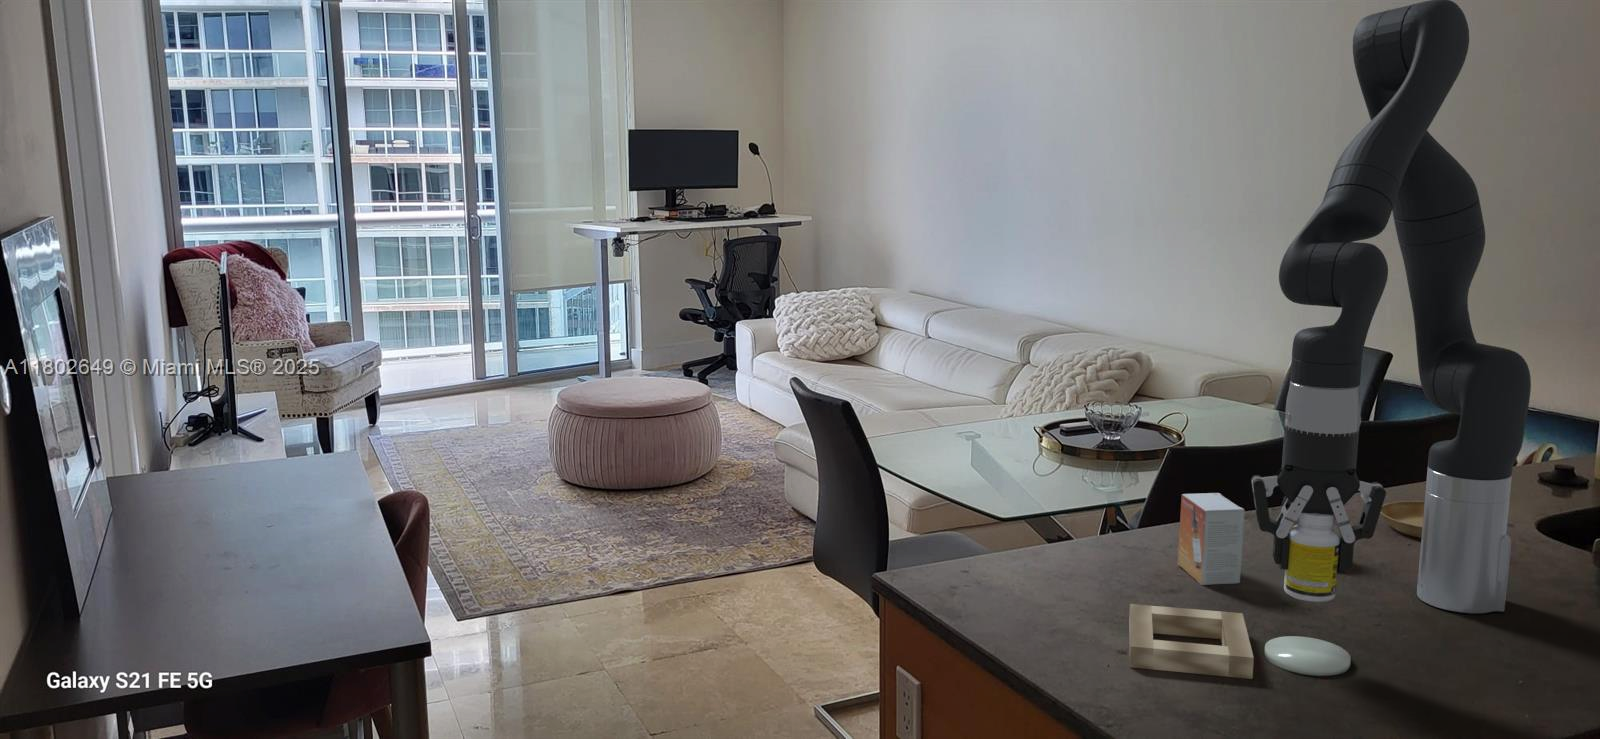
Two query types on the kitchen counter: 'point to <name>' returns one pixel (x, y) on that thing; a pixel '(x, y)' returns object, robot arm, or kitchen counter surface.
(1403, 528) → the plant saucer
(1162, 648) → the pocket block
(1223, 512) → the small box
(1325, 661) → the pale green pebble
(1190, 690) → the kitchen counter surface
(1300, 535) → the supplement bottle
